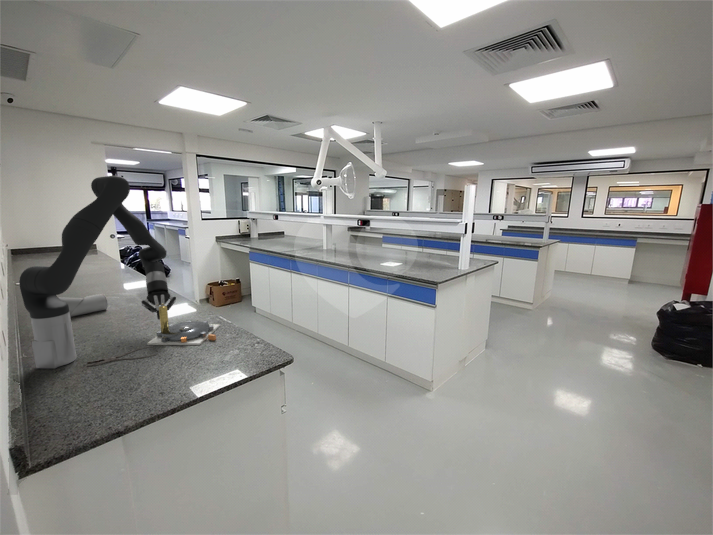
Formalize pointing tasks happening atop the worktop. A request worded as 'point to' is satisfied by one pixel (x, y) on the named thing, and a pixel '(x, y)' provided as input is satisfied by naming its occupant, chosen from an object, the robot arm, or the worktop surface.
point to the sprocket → (181, 328)
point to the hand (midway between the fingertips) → (161, 319)
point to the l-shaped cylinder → (86, 304)
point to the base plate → (189, 342)
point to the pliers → (117, 358)
